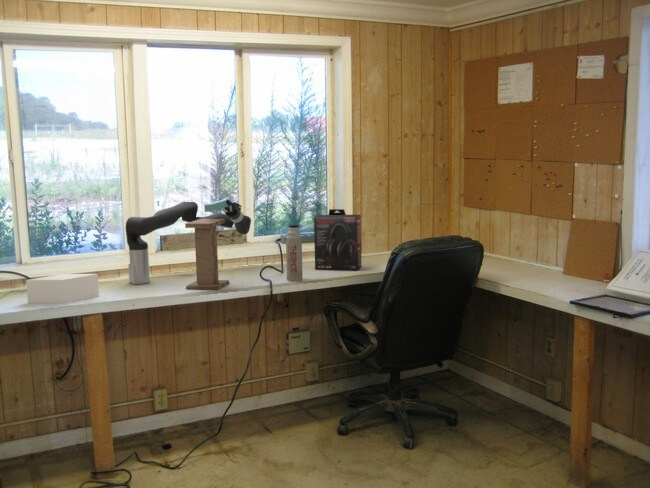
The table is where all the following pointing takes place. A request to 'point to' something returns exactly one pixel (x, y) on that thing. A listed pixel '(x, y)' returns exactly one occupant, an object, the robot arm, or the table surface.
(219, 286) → the walnut stand
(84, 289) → the block
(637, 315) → the table surface
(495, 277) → the table surface
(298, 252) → the thermos bottle
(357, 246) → the headset box
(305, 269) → the table surface
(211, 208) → the teal bar
